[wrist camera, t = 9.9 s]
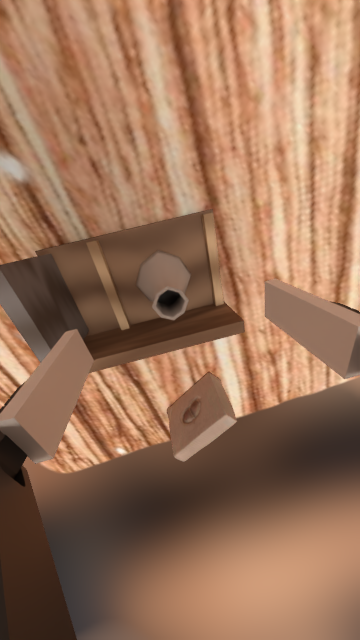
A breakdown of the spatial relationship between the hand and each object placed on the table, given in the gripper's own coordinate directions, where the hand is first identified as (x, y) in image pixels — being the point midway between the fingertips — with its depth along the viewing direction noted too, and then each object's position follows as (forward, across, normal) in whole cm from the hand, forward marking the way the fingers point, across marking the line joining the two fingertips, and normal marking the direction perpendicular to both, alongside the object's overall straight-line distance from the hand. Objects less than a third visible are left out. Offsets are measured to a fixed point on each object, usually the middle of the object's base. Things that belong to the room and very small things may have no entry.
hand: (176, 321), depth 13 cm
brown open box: (+16, -3, -1) cm, 16 cm away
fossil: (+15, 0, -25) cm, 29 cm away
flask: (+14, 0, 0) cm, 15 cm away
